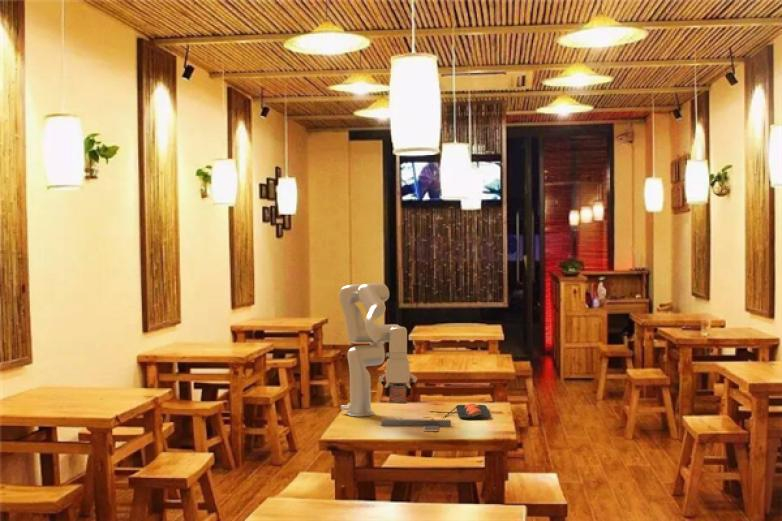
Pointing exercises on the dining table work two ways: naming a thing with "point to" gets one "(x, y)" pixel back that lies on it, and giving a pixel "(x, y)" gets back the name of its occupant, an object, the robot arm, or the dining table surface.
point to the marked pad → (431, 428)
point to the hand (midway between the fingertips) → (397, 396)
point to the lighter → (398, 393)
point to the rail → (414, 422)
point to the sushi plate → (470, 411)
